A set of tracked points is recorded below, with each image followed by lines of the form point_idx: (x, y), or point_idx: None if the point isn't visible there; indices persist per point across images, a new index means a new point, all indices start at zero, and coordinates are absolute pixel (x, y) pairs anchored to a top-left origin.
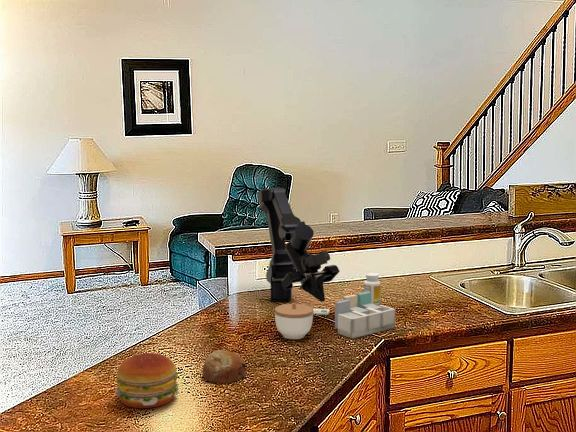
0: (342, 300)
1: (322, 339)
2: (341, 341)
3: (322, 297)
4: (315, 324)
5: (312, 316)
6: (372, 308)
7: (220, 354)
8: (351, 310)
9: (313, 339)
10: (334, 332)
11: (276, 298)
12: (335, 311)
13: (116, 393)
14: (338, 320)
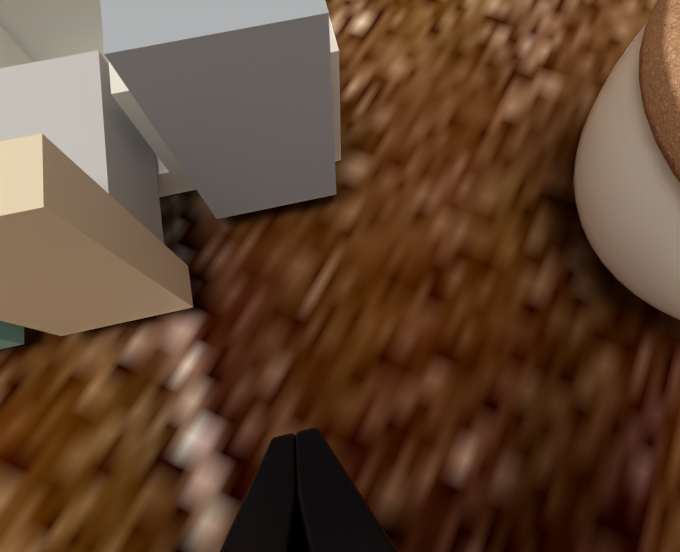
0: (188, 39)
1: (494, 95)
2: (396, 29)
3: (309, 459)
4: (400, 421)
5: (644, 26)
6: None
7: None
8: (111, 156)
9: (551, 115)
10: (352, 183)
11: None
12: (330, 100)
13: None
14: (338, 87)
